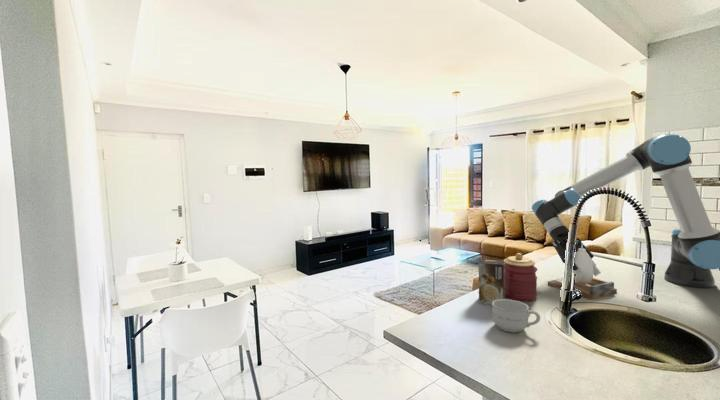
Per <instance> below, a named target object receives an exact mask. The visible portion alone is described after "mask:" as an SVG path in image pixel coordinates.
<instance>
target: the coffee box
mask: <svg viewBox="0 0 720 400" xmlns="http://www.w3.org/2000/svg"><path fill="white" fill-rule="evenodd" d="M504 263H505V262H504V260H503V259H502V260H500V259H486V258H485V259H483V258H478V304H483V305H491V306H493V305H492V302H493V301H495V300H499V299H505V297H504Z"/></svg>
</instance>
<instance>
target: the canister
mask: <svg viewBox="0 0 720 400" xmlns="http://www.w3.org/2000/svg"><path fill="white" fill-rule="evenodd" d="M503 263H504V298H505V299H508V300H515V301H519V302H522V303H524V302H532V301H535V300H536V299H537V296H538V294H537V293H538V291H537V287H538V286H537V284H538V283H537V280H538V276H537V271H538V268H537V267H536V266H535V265H536V262H535V261H533V260H532V259H531V258H529V257H525V256H523V254H522V253H520V252H517V253H516V254H515V255H512V256H508V257H506V258H504V259H503Z"/></svg>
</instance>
